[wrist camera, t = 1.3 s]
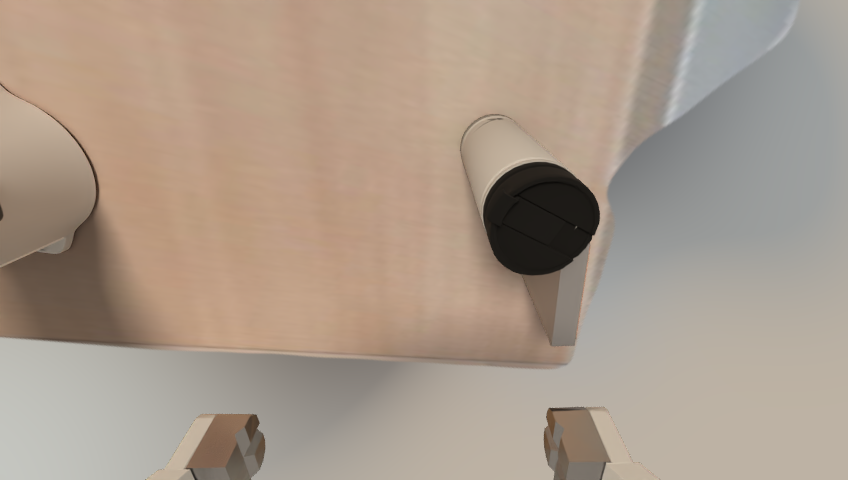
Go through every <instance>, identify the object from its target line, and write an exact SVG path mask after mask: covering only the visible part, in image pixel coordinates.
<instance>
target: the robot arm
mask: <svg viewBox="0 0 848 480" xmlns="http://www.w3.org/2000/svg"><path fill="white" fill-rule="evenodd" d="M95 199H96V185H95V179H94V175H93V172H92V169H91V166H90V164H89V162H88V160H87V158H86V156H85V154H84V153H83V151H82V149H81V148H80V146H79V145H78V144H77V142H76V141H75V140H74V138H73V137H72V136H71V135H70V134H69V133H68V132H67V131H66V130H65V129H64V128H63V127H62V126H61V125H60V124H59V123H58V122H57V121H56V120H54V119H53V118H52V117H51V116H49V115H48V114H46V113H45V112H44V111H42V110H40V109H39V108H37V107H35V106H34V105H32V104H30V103H28V102H26V101H24V100H22V99H20V98H18V97H16V96H14V95H13V94H11V93H9V92H8V91H6V90H5V89H4V88H3V87H2V86H1V85H0V268H1V267H3V266H5V265H7V264H10V263H12V262H14V261H16V260H18V259H21V258H23V257H25V256H27V255H29V254H32V253H34V252H42V253H50V254H59V253H62V252H64V251H66V250H68V249H69V248H70V247H71V244H72V241H73V236H74V232H75V230H76V229H77V228H78V227H79V226H80V225H81V224H82V223H83V222H84V221H85V220H86V219H87V218H88V216H89V215H90V213H91V212H92V209H93V207H94V204H95ZM546 418H547V422H548V426H547V427H546V428H545V431H544V448H545V453H546V458H547V461H548V465H549V466H550V467H551V468H552V469H553V470H554V471H555V474H554V480H660V479H659V478H658V477H656V476H655V475H654V474H653V473H652V472H650V471H649V470H648V469H647V468H645V467H644V466H643V465H642V464H640V463H639V462H633V461H632V459H631V456H630V454H629V452H628V451H627V448H626V446H625V444H624V442H623V440H622V438H621V436H620V434H619V432H618V430H617V428H616V426H615V424H614V422H613V420H612V418H611V416H610V414H609V412H608V410H607V409H606V408H605V407H586V408H584V407H570V408H549V409H548V411H547V416H546ZM258 425H259V420H258V418H257V415H254V414H201V415H200V416H198V417H197V418H196V419H195V420H194V422H193V424H192V425H191V427H190V429H189V430H188V432H187V433H186V435H185V437H184V438H183V440H182V441H181V443H180V445H179V446H178V448H177V450H176V451H175V453H174V454H173V456H172V458H171V459H170V461H169V462H168V464H167V466H166V467H165V469H163V470H158V471H156V472H155V473H154V474H152V475H151V476H150V477H148V478H147V479H146V480H251V477H252V476H254V475H255V474H256V473H257V472H258V471H259V470H260V467H261V465H262V462H263V458H264V453H265V439H264V435H263V433H261V432H260V431H259V430H258V429H257V427H258Z"/></svg>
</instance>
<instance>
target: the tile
mask: <svg viewBox="0 0 848 480" xmlns="http://www.w3.org/2000/svg"><path fill="white" fill-rule="evenodd" d="M589 252H590V243H589V244H588V246H587V247H586V248H585V249H584V250H583V252H582V253H581V254H580V255H579V256H577V257H575V258H573V260H574V261H573V262H571V263H570V264H568V265H567V266H566V267H564V268H563V269H561V270H559V271H556V272H553V273H550V274H545V275H534V276H531V275H523V274H522V276H523V279H524V281H525V284H526V286H527V288H528V291H529V293H530V296H531V298H532V300H533V303H534V305H535V308H536V310H537V313H538V315H539V317H540V320H541V322H542V325H543V327H544V329H545V332H546V334H547V337H548V339H549V341H550V344H551V346H575V339H576V336H577V329H578V323H579V317H580V310H581V304H582V297H583V291H584V284H585V278H586V272H587V265H588V259H589Z"/></svg>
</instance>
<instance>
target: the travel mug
mask: <svg viewBox="0 0 848 480" xmlns="http://www.w3.org/2000/svg"><path fill="white" fill-rule="evenodd" d="M460 151H461V157H462V160H463V163H464V166H465V170H466V173H467V176H468V179H469V182H470V185H471V188H472V192H473V195H474V198H475V201H476V204H477V207H478V210H479V214H480V217H481V220H482V223H483V226H484V229H485V231H486V233H487V236H488V239H489V242H490V245H491V248H492V250H493V253H494V255H495V256H496V258H497V259H498V261H499V262H500V263H501V264H503V265H504V266H505V267H506V268H508V269H510V270H511V271H513V272H516V273H519V274H523V275H531V276H534V275H545V274H550V273H553V272H556V271H559V270H561V269H563V268H564V267H566V266H567V265H568V264H570V263H571V262H573V261H574V260H573V258H575V257H577V256H579V255H580V254H581V253H582V252H583V250H584V249H585V248H586V247H587V246H588V244H589V243H590V241H591V240H592V235H595V232H596V230H597V227H598V225H599V221H600V211H599V206H598V203H597V200H596V198H595V196H594V195H593V193H592V192H591V191H590V190H589V189H588V187H586V186H585V185H584V184H583V183H582V182H581V181H580V180H579V179H577V177H576V176H575V175H574V174H573V173H572V172H571V171H570V170H569V169H568V168H567V167H566V166H564V165H563V164H562V163H561V162H560V161H559V160H558V159H557V158H555V157H554V156H553V155H552V154H551V153H550V152H549V151H548V150H546V149H545V148H544V147H543V146H542V145H541V144H540V143H539V142H537V141H536V140H535V139H534V138H533V137H532V136H531V135H529V134H528V133H527V132H526V131H525V130H524V129H523V128H522V127H520V126H519V125H518V124H517V123H516V122H515V121H513V120H512V119H511V118H509V117H507V116H504V115H499V114H490V115H485V116H483V117H480V118H478V119H477V120H475V121H474V122H473V123H472V124H471V125H470V126H469V127H468V128H467V130H466V131H465V133H464V135H463V137H462V140H461V147H460Z"/></svg>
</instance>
